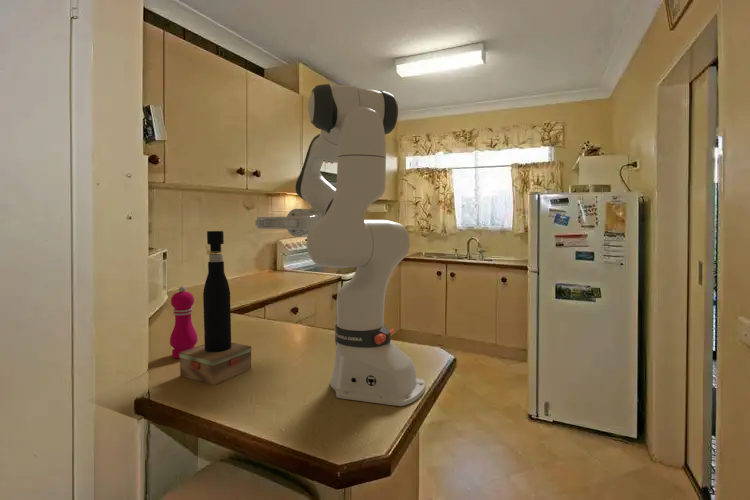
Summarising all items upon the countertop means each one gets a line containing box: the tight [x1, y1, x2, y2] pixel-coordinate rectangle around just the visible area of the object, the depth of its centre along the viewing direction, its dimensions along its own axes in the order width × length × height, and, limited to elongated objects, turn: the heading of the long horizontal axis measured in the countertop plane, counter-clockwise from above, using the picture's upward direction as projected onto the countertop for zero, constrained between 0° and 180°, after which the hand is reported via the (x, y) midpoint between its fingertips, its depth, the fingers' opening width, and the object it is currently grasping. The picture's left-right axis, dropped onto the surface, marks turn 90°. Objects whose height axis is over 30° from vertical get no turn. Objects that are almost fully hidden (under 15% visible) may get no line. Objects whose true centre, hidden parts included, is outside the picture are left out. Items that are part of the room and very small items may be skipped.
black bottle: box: [202, 230, 232, 352], centre depth 103 cm, size 6×6×30 cm
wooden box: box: [178, 341, 252, 386], centre depth 104 cm, size 13×13×6 cm
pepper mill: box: [169, 285, 198, 360], centre depth 117 cm, size 7×7×20 cm
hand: (269, 223), depth 116 cm, fingers open, 8 cm apart
